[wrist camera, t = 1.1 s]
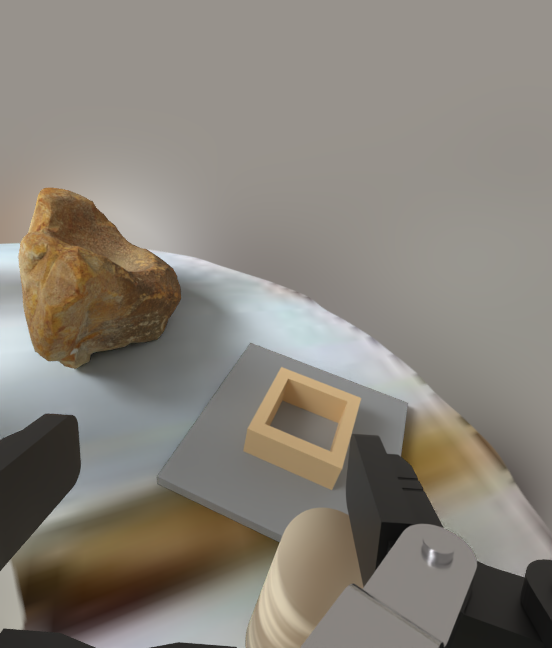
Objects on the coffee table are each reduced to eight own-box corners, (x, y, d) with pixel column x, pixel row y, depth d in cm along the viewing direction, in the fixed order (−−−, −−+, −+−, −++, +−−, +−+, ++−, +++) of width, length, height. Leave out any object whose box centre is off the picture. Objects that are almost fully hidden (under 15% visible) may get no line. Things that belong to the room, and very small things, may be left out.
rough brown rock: (194, 388, 44) (212, 273, 36) (21, 409, 37) (-6, 272, 29) (160, 282, 61) (166, 186, 53) (35, 282, 54) (20, 171, 45)
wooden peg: (233, 666, 26) (262, 591, 17) (262, 586, 29) (298, 492, 21) (304, 706, 25) (373, 648, 16) (324, 618, 28) (389, 533, 20)
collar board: (157, 483, 34) (155, 453, 31) (249, 349, 50) (254, 321, 47) (378, 589, 30) (399, 566, 28) (404, 409, 46) (419, 382, 43)
